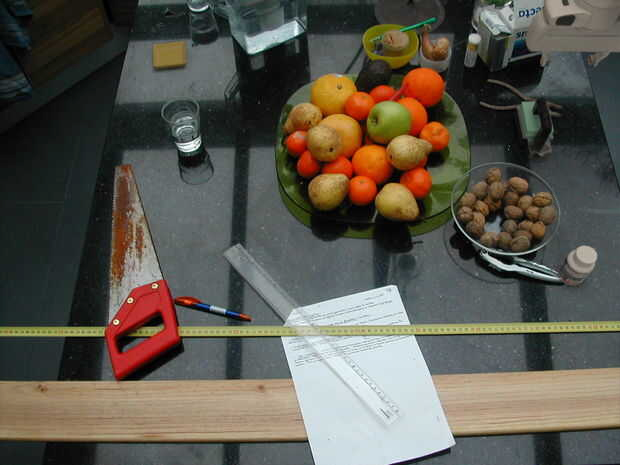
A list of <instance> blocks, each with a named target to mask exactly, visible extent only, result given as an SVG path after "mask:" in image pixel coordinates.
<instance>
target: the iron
mask: <svg viewBox="0 0 620 465" xmlns="http://www.w3.org/2000/svg"><path fill="white" fill-rule="evenodd" d="M536 99H537V100H536V102H526V101H521V103H520V104H521V105H520V106H517V107H516V109H514V112H513V119H514V125H515V129H516V135H517V140H518V141H517V142H518V146H519V147H523V150H524V155H525V160H526V161H533V162H534V163H536V164H537V165H539V164H540V163H541V162H542V161H548V160H549V159H550V157H551V155H552V153H553V150H552V142H553V140H554V135H553V134H554V132H555V131H554V126H553V122H552V116H550V112H549V110H550V108H549V107H548V103H547V102H548V100H547V99H546V97H540V98H536Z"/></svg>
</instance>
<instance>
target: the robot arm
mask: <svg viewBox="0 0 620 465" xmlns="http://www.w3.org/2000/svg"><path fill="white" fill-rule="evenodd" d="M524 39H525V44H526V47H527V49H528V51H529V52H540V53H541V58H540V60H539V62H540V66H541V67H550V65H551V62H552V58H551V54H550V53H551V52H553V53H554V52H555V53H556V52H557V53H558V52H560V53H561V52H562V53H594V54H589V56H588V58H587V60H586V64H587V67H588V68H596V67H597V66H598V64H599V62H601V61H602V60H603V59H605V58H607V57H608V56H609V55H610V54H611V53H620V0H543V8H541V9H540V10H538V11H537V13H536V14H535V15H534V16H533V18H532V20H531V22H530V24H529V26H528V28H527V31H526V34H525V38H524Z"/></svg>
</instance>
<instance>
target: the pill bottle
mask: <svg viewBox="0 0 620 465" xmlns="http://www.w3.org/2000/svg"><path fill="white" fill-rule="evenodd" d="M597 260H598V253H597V251H596V249H594V248H593V247H591V246H588V245H581V246H579V247H577V248H576V249H573V250H572V251H570V252H569V253H568V255H567V256H566V257H565V258H564V260H562V261H561V263H560V265H559V266H558V268H557V274H558V273H559V275H560V277H561V278H562V280H561V282H563V283H564V284H566V285H568V286H577V285H580V284H581V283H582V282H583V281H584V280H585V279H586V278H587V277H588V275H589V274H590V273H591V272H592V271H593V270H594V268H595V266H596V262H597ZM559 275H558V276H559ZM560 277H559V278H560Z"/></svg>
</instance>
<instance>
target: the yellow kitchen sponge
mask: <svg viewBox="0 0 620 465" xmlns="http://www.w3.org/2000/svg"><path fill="white" fill-rule="evenodd" d="M152 46H153V47H152V52H153V53H152V60H153V61H152V63H153V64H152V65H153V67H154V68H156V69H167V68H178V67H183V66H185V65H186V64H187V50H186V48H187V47H186V41H183V40H181V41H172V42H164V43H154V44H153V45H152Z"/></svg>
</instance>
